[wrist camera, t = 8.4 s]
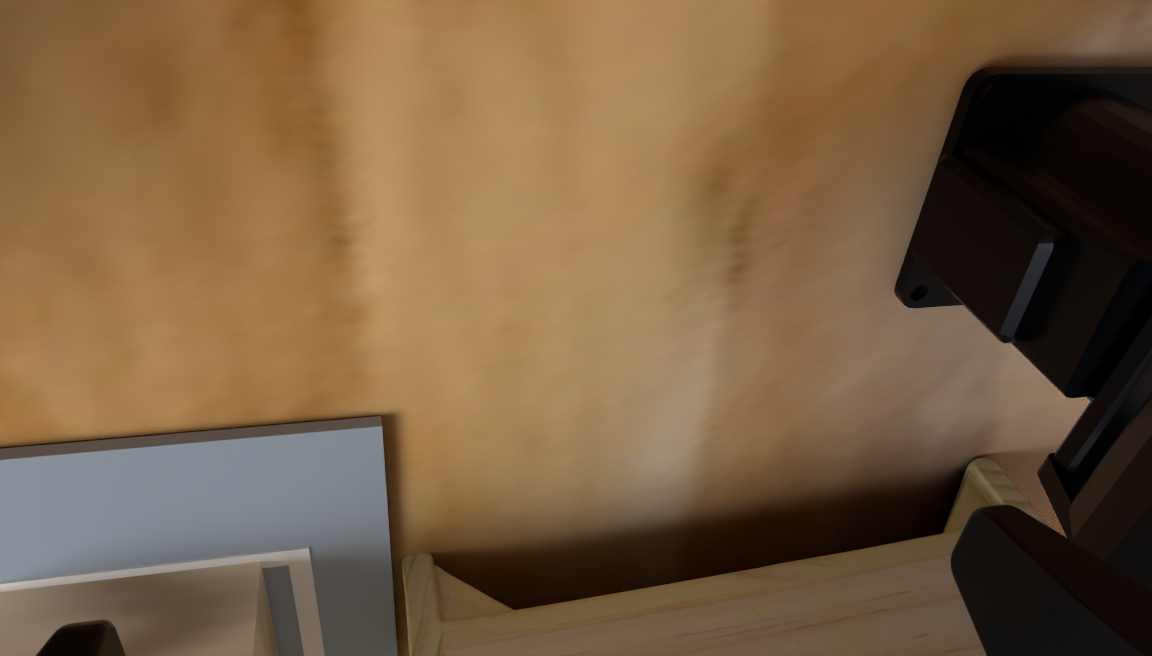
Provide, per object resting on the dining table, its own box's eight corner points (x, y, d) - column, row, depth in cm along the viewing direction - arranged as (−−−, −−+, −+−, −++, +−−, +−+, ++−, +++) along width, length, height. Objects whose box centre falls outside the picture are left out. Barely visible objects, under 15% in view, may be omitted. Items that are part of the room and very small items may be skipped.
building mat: (381, 416, 23) (382, 428, 22) (401, 716, 31) (402, 728, 30) (-259, 470, 20) (-271, 486, 19) (-49, 788, 28) (-54, 803, 27)
